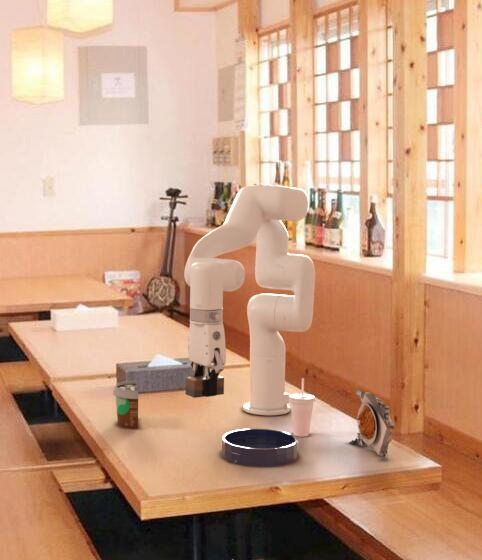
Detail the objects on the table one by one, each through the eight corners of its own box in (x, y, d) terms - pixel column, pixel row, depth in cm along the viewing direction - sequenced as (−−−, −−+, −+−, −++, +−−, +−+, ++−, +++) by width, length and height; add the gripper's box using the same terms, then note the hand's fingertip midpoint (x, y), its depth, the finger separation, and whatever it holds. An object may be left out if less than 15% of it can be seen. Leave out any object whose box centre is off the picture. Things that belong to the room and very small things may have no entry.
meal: (346, 443, 252) (348, 390, 250) (362, 442, 253) (364, 389, 252) (377, 461, 238) (378, 405, 236) (393, 459, 239) (395, 403, 237)
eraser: (214, 390, 247) (215, 374, 247) (223, 394, 244) (224, 377, 243) (185, 394, 243) (185, 377, 243) (194, 397, 240) (194, 380, 239)
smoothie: (316, 432, 261) (318, 377, 260) (311, 439, 255) (312, 382, 254) (291, 430, 263) (292, 375, 262) (285, 436, 257) (286, 380, 256)
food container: (112, 417, 273) (112, 380, 272) (136, 417, 274) (136, 380, 273) (113, 430, 261) (113, 391, 260) (138, 430, 262) (138, 390, 260)
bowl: (269, 441, 253) (269, 425, 253) (312, 460, 238) (312, 442, 238) (208, 450, 245) (208, 434, 244) (248, 470, 230) (249, 453, 229)
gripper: (239, 320, 236) (238, 399, 238) (201, 310, 251) (200, 385, 253) (211, 322, 232) (209, 403, 235) (174, 312, 247) (173, 388, 249)
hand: (204, 393), depth 244 cm, fingers closed on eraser, 4 cm apart
